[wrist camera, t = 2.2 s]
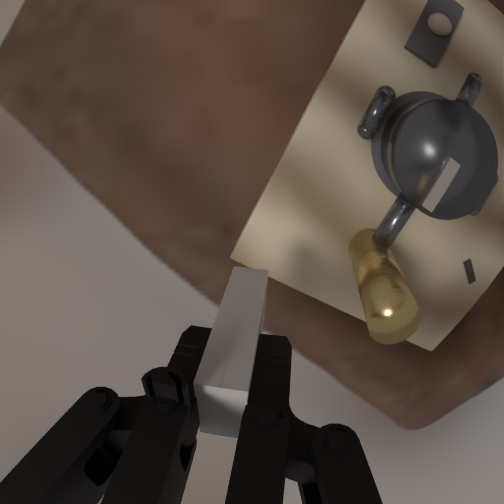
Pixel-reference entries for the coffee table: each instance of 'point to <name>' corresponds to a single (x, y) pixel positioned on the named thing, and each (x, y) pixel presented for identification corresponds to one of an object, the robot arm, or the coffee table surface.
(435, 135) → the grey round handled piece
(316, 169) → the lever board
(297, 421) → the robot arm
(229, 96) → the coffee table surface
